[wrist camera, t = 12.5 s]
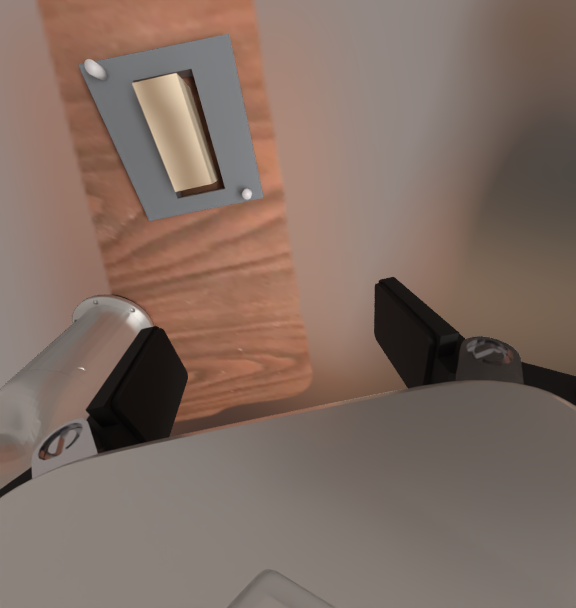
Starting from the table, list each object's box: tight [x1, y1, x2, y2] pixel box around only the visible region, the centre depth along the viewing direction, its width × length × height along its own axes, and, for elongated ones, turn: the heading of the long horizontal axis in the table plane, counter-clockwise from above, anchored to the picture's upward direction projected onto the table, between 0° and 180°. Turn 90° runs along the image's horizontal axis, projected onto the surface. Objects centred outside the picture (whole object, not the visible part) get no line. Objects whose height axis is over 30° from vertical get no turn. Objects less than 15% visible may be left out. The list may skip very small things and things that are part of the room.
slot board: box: [78, 34, 264, 221], centre depth 30 cm, size 16×16×4 cm
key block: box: [132, 73, 218, 192], centre depth 29 cm, size 4×10×6 cm, turn 11°
